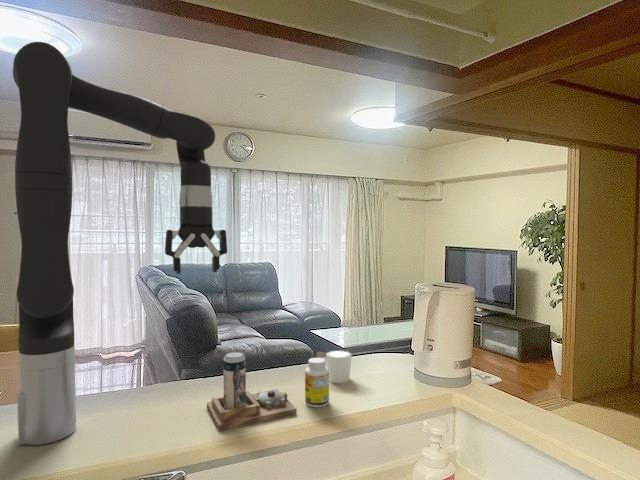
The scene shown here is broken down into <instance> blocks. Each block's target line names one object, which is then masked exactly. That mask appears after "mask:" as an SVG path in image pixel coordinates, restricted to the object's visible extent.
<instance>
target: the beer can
mask: <svg viewBox="0 0 640 480" xmlns="http://www.w3.org/2000/svg"><path fill="white" fill-rule="evenodd" d="M246 359H247V358H246V357H245V354H244V353H243V352H241V351H231V352H227V353H226V354H225V355H224V357H223V365H222V366H223V396H224V409H225V410H228V409H233V408H238V407H243V406H246V392H247V391H246V390H247V387H246V386H247V385H246V384H247V383H246V382H247V375H246V373H247V372H246V371H247V369H246V367H247V366H246V365H247V364H246V363H247V362H246Z"/></svg>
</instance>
